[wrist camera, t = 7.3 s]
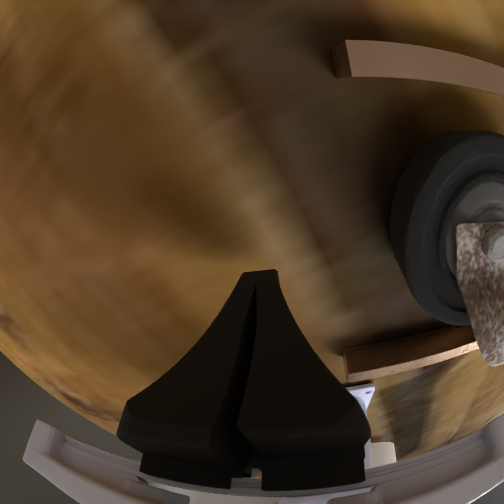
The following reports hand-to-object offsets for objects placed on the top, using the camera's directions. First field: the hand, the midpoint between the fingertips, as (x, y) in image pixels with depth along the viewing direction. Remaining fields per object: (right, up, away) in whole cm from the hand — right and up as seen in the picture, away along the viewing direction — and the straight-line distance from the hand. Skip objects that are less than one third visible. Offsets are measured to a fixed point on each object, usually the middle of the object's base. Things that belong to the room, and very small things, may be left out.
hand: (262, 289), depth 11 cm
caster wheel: (+10, +3, 0) cm, 11 cm away
